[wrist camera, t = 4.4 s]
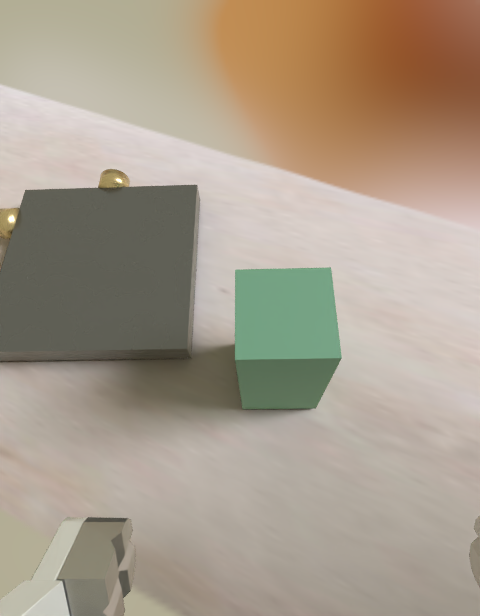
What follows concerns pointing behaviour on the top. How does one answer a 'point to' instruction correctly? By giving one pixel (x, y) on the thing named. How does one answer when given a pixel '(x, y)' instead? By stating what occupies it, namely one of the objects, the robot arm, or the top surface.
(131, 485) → the top surface
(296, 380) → the block
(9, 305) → the level base plate
